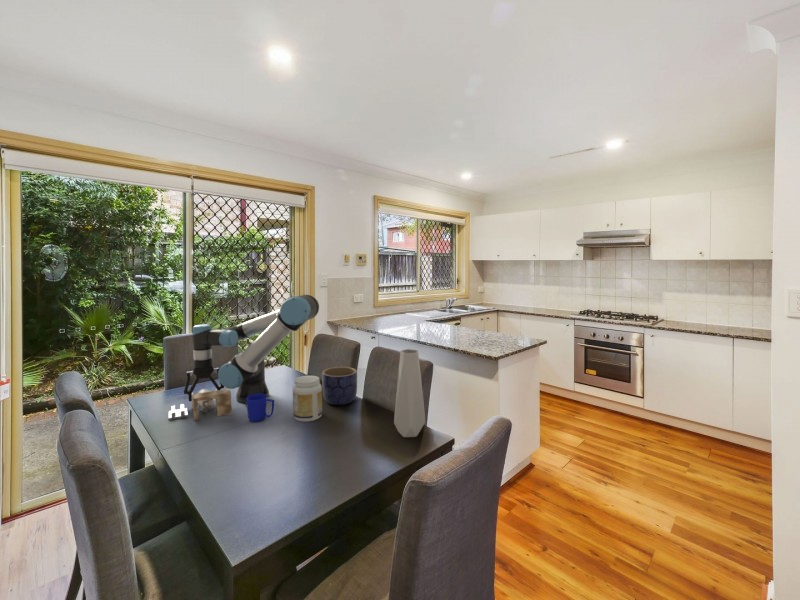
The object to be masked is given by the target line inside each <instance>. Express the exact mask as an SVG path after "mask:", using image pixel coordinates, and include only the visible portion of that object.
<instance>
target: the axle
mask: <svg viewBox="0 0 800 600" xmlns="http://www.w3.org/2000/svg"><path fill="white" fill-rule="evenodd" d="M204 392H211V390H210V389H207V388H204V389H200V390H199V391H198V392H197V394H198V393H204ZM214 406H215V402H214V399H209V400H203V401H198V409H199V410H200V411H201V412H203V413H205V412H206V413H207V412H211V411H212V410H213V409H214Z"/></svg>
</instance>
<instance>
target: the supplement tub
mask: <svg viewBox="0 0 800 600" xmlns="http://www.w3.org/2000/svg"><path fill="white" fill-rule="evenodd" d="M292 406H293V407H292V410H293V414H292V415H293V418H294V420H296V422H297V421H298V422H301V423H302V422H303V423H305V422H307V423H308V422H313V421H317V420H318V419H320V418H321V417H322V415H323V387H322V384H321V381H320V377H319V376H316V375H302V376H298V377H296V378H295V379H294V385H293V388H292Z"/></svg>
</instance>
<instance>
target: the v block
mask: <svg viewBox="0 0 800 600" xmlns="http://www.w3.org/2000/svg"><path fill="white" fill-rule="evenodd" d="M170 407H171V410H168V421H173V420H178V419H183V418H189V416H188V415H189V414H188V408H187V407H185V404H184V403H181V404H179V408H178V409H176V405H171V406H170Z"/></svg>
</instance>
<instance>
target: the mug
mask: <svg viewBox="0 0 800 600" xmlns="http://www.w3.org/2000/svg"><path fill="white" fill-rule="evenodd" d="M267 402H270V403H271V410H270V413H269V415H268V414H267ZM245 404H246V408H247V418H248V421H250V422H252V423H257V422H261V421H264V420H265V418H270V417H272V416H273V414H274V410H275V399H272V398H271V399H270V398H267V395H265V394H253V395H249V396H247V397H246V403H245Z"/></svg>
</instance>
